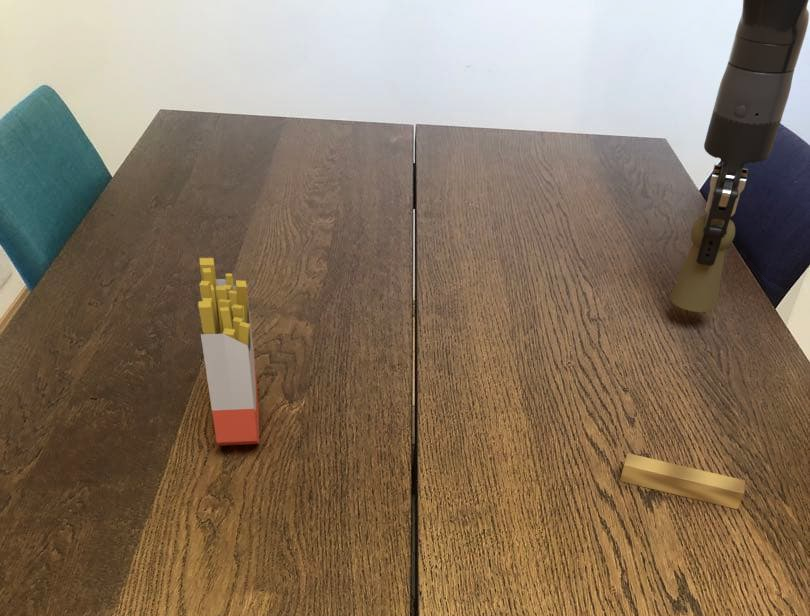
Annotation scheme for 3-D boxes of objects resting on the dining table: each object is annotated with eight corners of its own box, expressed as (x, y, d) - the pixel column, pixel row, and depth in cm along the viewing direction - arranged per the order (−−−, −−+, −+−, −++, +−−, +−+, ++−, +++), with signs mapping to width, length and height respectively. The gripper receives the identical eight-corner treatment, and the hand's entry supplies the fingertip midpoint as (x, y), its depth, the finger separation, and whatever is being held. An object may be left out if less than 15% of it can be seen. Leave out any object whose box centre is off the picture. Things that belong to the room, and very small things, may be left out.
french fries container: (262, 400, 93) (247, 248, 81) (263, 459, 86) (247, 301, 73) (221, 402, 93) (200, 249, 80) (218, 461, 85) (195, 302, 73)
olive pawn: (703, 316, 106) (728, 232, 98) (661, 300, 108) (683, 218, 101) (724, 300, 109) (750, 218, 101) (684, 285, 112) (706, 205, 104)
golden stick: (738, 496, 84) (745, 480, 83) (737, 509, 83) (744, 493, 81) (622, 469, 87) (627, 452, 85) (619, 481, 85) (624, 464, 84)
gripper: (781, 133, 87) (733, 283, 98) (783, 97, 97) (739, 237, 108) (709, 124, 88) (670, 272, 100) (718, 89, 98) (682, 228, 110)
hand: (706, 253), depth 104 cm, fingers closed on olive pawn, 5 cm apart
